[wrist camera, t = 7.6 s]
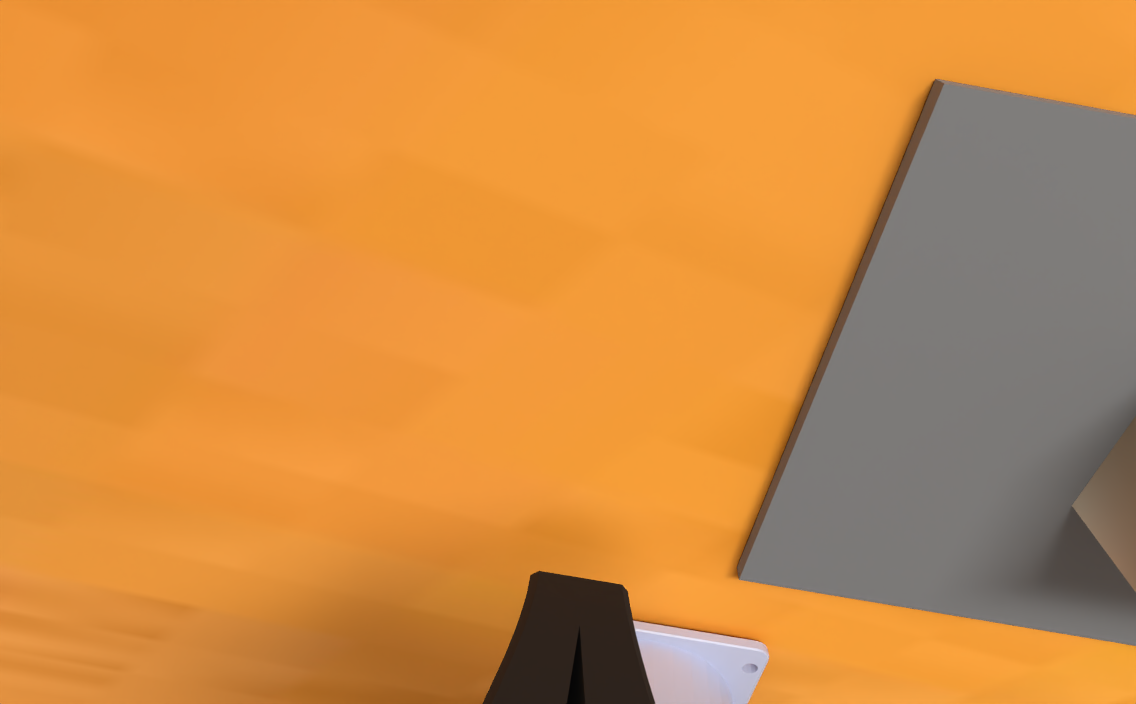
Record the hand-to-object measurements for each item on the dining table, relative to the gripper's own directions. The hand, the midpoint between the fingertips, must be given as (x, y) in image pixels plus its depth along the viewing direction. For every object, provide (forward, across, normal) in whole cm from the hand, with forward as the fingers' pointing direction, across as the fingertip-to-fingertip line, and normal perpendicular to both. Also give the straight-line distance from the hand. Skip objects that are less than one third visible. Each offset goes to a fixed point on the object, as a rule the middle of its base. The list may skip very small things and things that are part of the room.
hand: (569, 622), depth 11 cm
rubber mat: (+9, -15, 0) cm, 18 cm away
